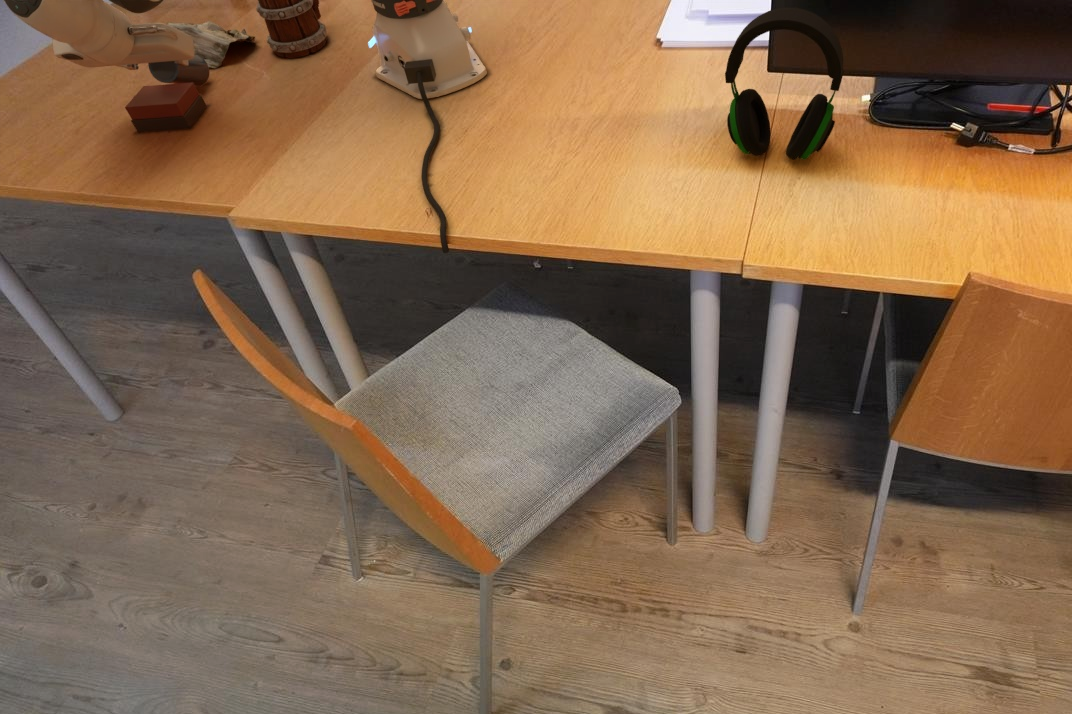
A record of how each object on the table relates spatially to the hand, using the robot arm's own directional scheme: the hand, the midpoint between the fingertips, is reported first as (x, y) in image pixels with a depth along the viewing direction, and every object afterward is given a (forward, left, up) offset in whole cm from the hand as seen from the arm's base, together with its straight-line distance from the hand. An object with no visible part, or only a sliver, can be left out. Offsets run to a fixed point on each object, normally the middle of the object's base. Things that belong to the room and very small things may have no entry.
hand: (159, 63), depth 137 cm
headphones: (-83, -70, -8) cm, 109 cm away
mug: (+10, -27, -8) cm, 30 cm away
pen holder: (+8, -5, -6) cm, 11 cm away
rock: (+22, -10, -8) cm, 25 cm away
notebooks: (-4, +3, -8) cm, 9 cm away
